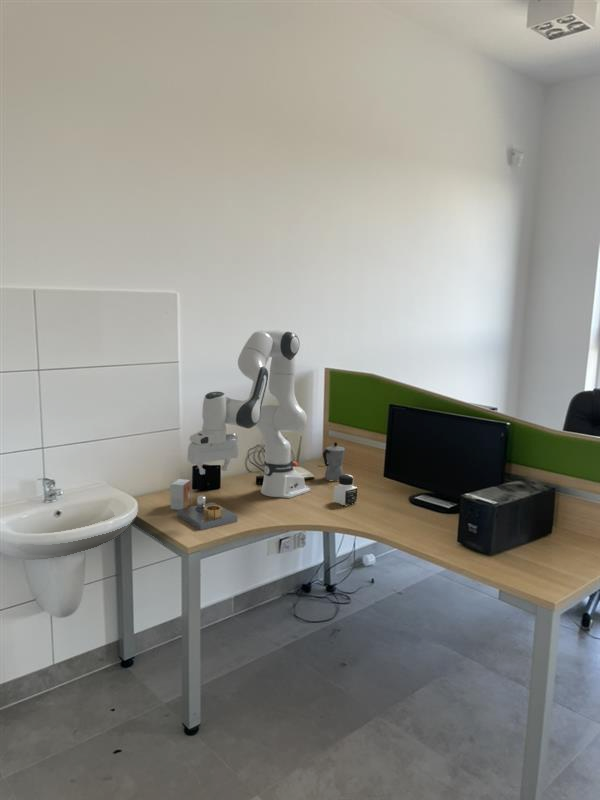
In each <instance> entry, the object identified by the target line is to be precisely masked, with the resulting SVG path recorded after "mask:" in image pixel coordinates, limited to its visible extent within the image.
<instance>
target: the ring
mask: <svg viewBox="0 0 600 800" xmlns="http://www.w3.org/2000/svg"><path fill="white" fill-rule="evenodd" d="M218 505H219V504H217V505H210V506H206V507H205V508H204V517H206V518H208V519H217V518H221V517H222V515H223V508H224V507H223V506H221V505H219V506H218ZM222 507H223V508H222Z"/></svg>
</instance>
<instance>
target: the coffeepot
mask: <svg viewBox="0 0 600 800" xmlns="http://www.w3.org/2000/svg"><path fill="white" fill-rule="evenodd" d="M333 444H334V445H331V446H330V445H329V446H327V447H326V448H325V449H324V450H323V453H322V457H323V461H324V466H325V467H326V470H325V474H324V479H325V478H326V479H327V480H326V479H325V480H326V481H328V480H333V481H332V482H338V481H337V480H339V476H340V475H344V470H343V465H342V463H343V462H344V457H345V451H346V448H345V446H338V442H333Z"/></svg>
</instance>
